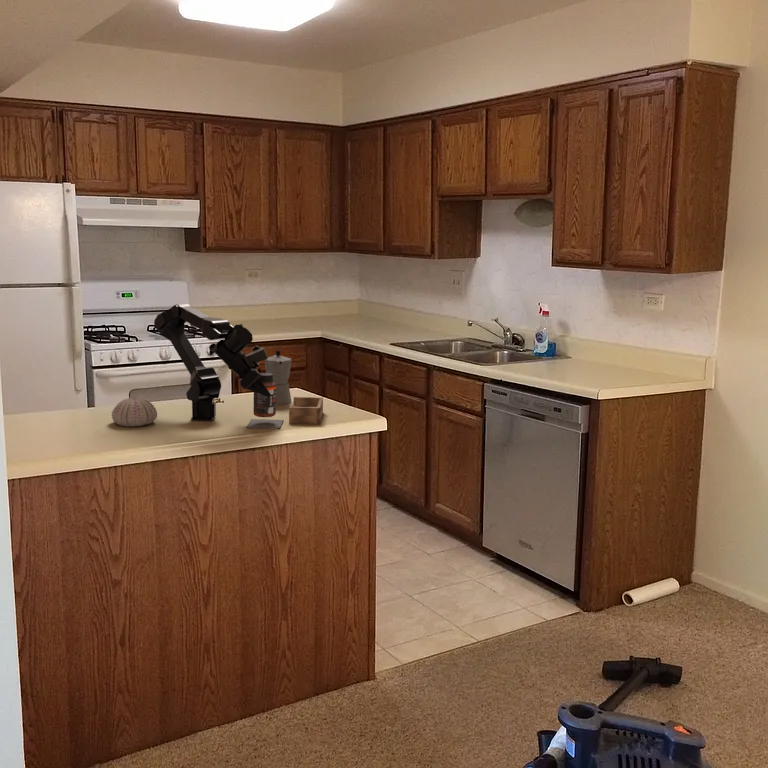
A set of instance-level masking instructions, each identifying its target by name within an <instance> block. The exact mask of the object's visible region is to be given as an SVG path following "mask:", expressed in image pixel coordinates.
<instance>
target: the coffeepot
mask: <svg viewBox="0 0 768 768" xmlns="http://www.w3.org/2000/svg"><path fill="white" fill-rule="evenodd" d="M263 361H264V366H265V367H264V368H265V373H271V374H273V381H274V382H275V383H276V404H283V405H289V404H290V403H291V402H292V397H291V391H290V385H289V378H290V373H291V367H292V361H293V359H292V358H290V357H286V356H283V355H281V350H278V349H277V350H275V353H274V354H273V355H272V356H268V359H266V360H263ZM288 403H289V404H288Z"/></svg>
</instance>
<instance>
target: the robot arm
mask: <svg viewBox="0 0 768 768" xmlns="http://www.w3.org/2000/svg"><path fill="white" fill-rule="evenodd" d="M153 323H154V327H155V330H156V331H157V332H158V333H159V334H160V336H161V337H163V338H165V339H166V340H168V341H170V343H171V345H172V346H173V348H174V349H175V351H176V353H177V354H178V356H179V358H180V360H181V361H182V363H183V364H184V366H185V368H186V370H187V371H188V373H189V375H190V377H189V378H190V379H189V381H190V382H189V384H190V387H189V388H188V390H187V391H186V394H185V395H186V399H187V400H188V401H190V402H191V412H192V414H191V418H190V420H191V421H213V420H214V418H216V416H217V403H216V402H215V399H219V397H220V393H221V390H222V389H221V388H222V382H221V379H220V376H219V375H218V374H217V372H216V370H215V369H214V367H205V365H204V363H203V362H202V360H201V358H200V357H199V355H198V353H197V352H196V350H195V349H194V346H193V345H192V343H191V342H190V341H189V338H188V337H187V336H186V334H185V327H186V323H188V324H190V325H192V326H193V327H196V329H199V330H200V331H201V334H202V336H204V337H205V338H206V339H207V340H209V341H216V340H219V341H218V342H216V343H211V344H210V345H209V346H208V350H209V353H208V354H209V355H210V356H212V355H214V354H215V355H216V356H217V357H218V358H219V359H221V361H223V362H224V364H225V365H226V366H227V368H228V369H229V371H232V372H233V373H235V374H236V375H237V378H238V379H239V386H240V387H242V389H244V390H248V391H252V392H253V393H254V392H257V393H259V394H262V395H264V396H267V397H269V396H270V395H271V394H270V392H269V391H268V390H267V388H266V387H265V385H264V384H263V383H262V381H261V373H262V372H261V371H262V368H261V366H260V362H262V361H264V360H266V359H268V357H269V355H268V354H267V352H266V351H267V350H266V349H265V347H263V346H261V347H260V346H259V345H254V346H252V351H250V352H249V353H246V352H244V351H243V350H244V349H245V348H246V347H248V346H249V345H250V344H251V343H252V342H253V339H254V337H253V335H252V332H251V331H250V330H249V329H248V328H246V327H245V326H243V323H237V324H235V325H232V324H231V322H230V321H228V320H227V319H223V318H218V317H211V316H209V315H207V314H205V313H204V312H202V311H200V310H198V309H195V308H194V307H192V306H191V305H190V304H188V303H179V304H178V303H175V304H174V305H173V306H171V307H170V308H169V309H166V310H165V311H163V312H161V313H158V314H157V315H156V317H155V318H154V322H153ZM209 355H208V356H209Z"/></svg>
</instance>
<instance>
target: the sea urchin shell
mask: <svg viewBox="0 0 768 768" xmlns="http://www.w3.org/2000/svg"><path fill="white" fill-rule="evenodd" d="M157 418H158V411H157V409H156V407H155V405H154V404H153V403H152V402H150V401H149V400H148V399H146V398H143V397H138V396H132V397H126V398H124V399H122V400H121V401H119V402H118V403H117V404H116V405H115V407H113V410H112V412H111V419H112V421H113V422H115V424H117V425H118V426H121V427H128V428H129V427H141V426H145V425H149V424H152V423H154V422H155V421H156V420H157Z"/></svg>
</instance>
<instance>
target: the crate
mask: <svg viewBox="0 0 768 768" xmlns="http://www.w3.org/2000/svg"><path fill="white" fill-rule="evenodd" d="M322 413H323V414H324V397H321V396H319V397H318V396H293V406H289V407H288V424H304V423H315V424H316V425H317V424H318V425H320V424H321V422H322V418H321V417H323V414H322ZM315 424H314V425H315Z"/></svg>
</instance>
